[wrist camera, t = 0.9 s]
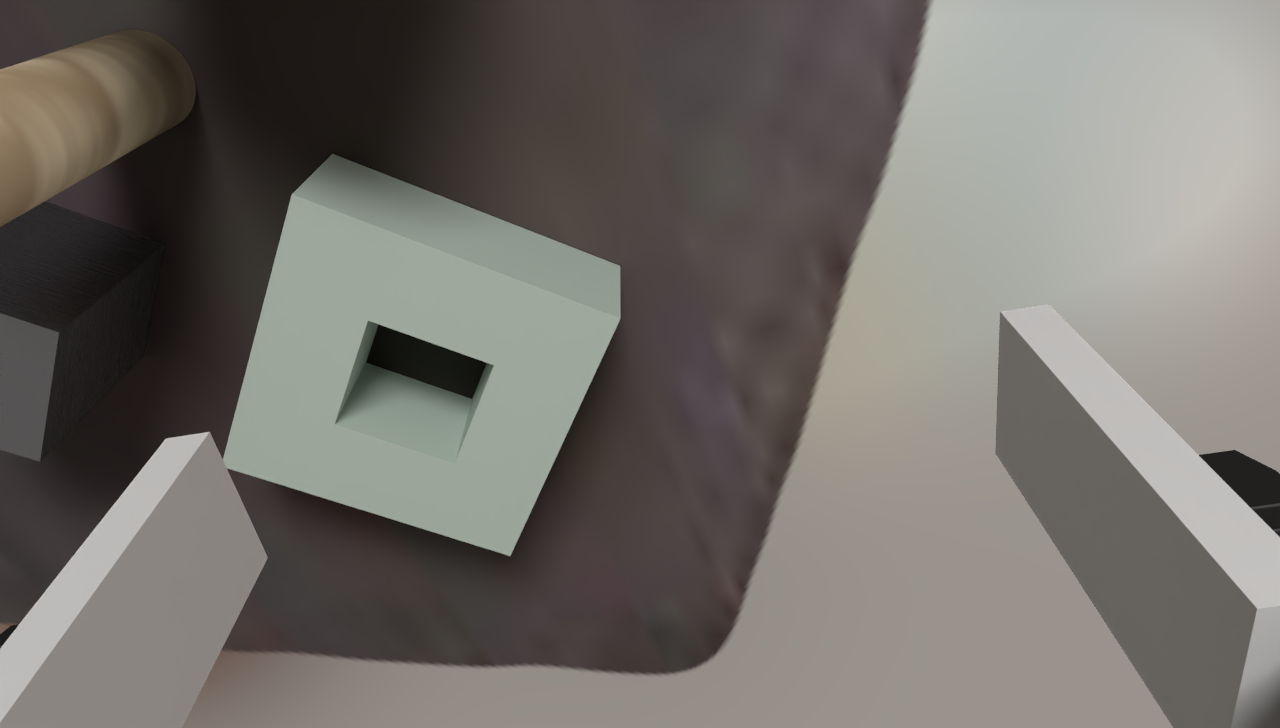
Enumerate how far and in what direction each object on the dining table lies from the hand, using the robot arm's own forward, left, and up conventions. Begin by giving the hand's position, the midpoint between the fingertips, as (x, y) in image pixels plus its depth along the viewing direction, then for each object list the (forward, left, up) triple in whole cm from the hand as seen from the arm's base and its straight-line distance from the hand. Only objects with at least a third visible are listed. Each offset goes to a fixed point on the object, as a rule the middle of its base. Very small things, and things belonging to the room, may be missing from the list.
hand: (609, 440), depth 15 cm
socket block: (-3, -11, -22) cm, 25 cm away
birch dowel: (-16, -5, -22) cm, 28 cm away
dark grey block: (-17, -14, -22) cm, 32 cm away
